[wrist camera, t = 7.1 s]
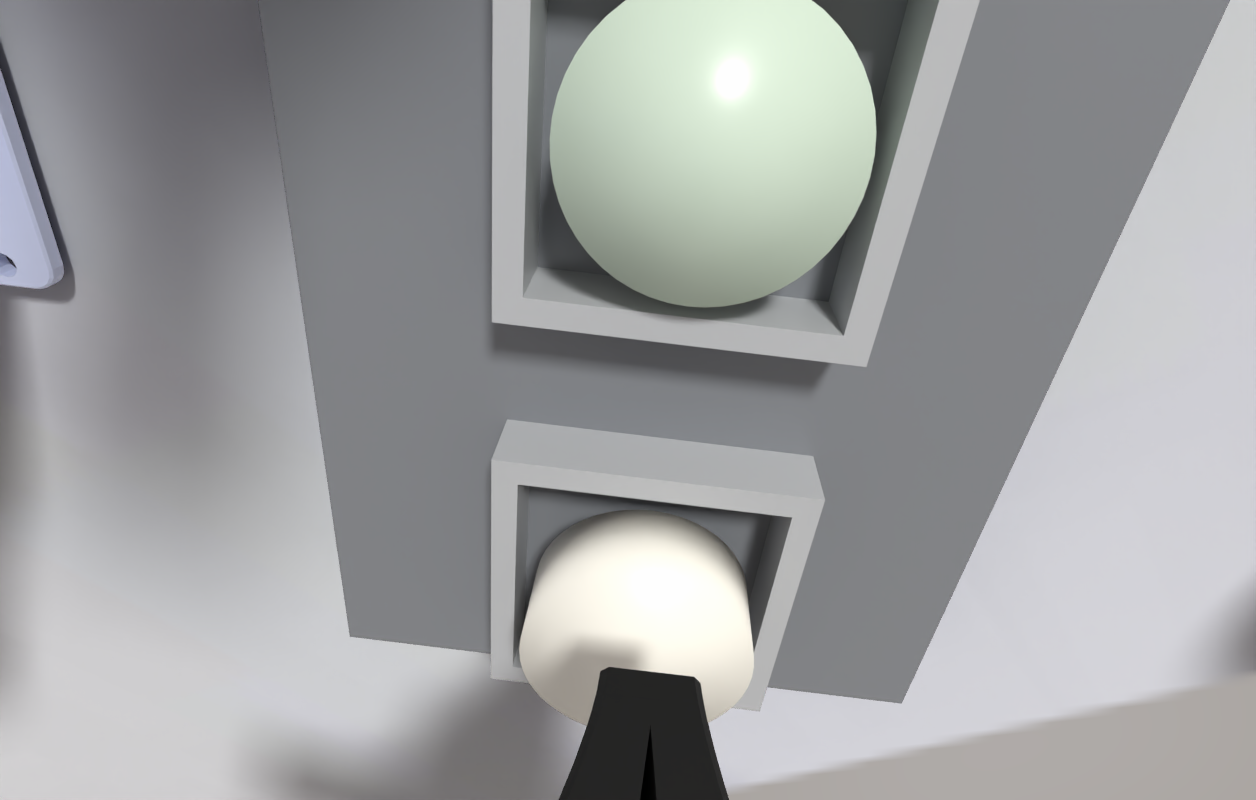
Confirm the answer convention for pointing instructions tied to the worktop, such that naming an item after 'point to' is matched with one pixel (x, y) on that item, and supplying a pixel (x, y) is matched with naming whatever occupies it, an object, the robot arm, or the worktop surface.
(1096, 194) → the button panel
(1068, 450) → the worktop surface
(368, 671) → the worktop surface
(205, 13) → the worktop surface
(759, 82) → the sage button
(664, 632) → the cream button
